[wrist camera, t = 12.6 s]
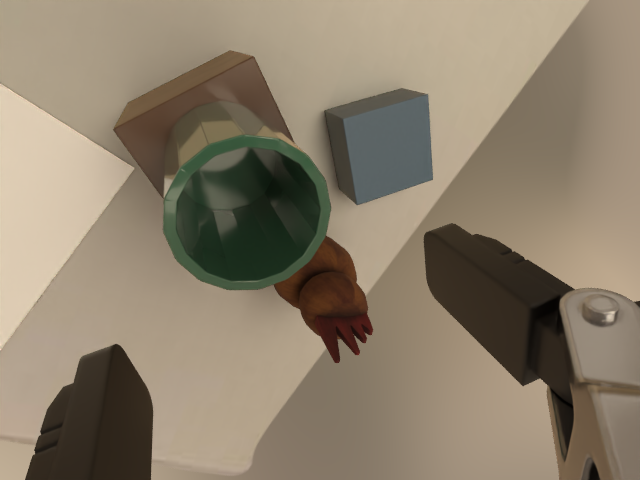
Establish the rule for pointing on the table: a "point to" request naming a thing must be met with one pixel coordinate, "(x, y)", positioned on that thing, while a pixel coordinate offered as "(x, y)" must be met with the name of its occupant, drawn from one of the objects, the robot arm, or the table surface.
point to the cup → (240, 198)
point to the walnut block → (192, 107)
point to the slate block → (381, 144)
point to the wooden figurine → (329, 298)
